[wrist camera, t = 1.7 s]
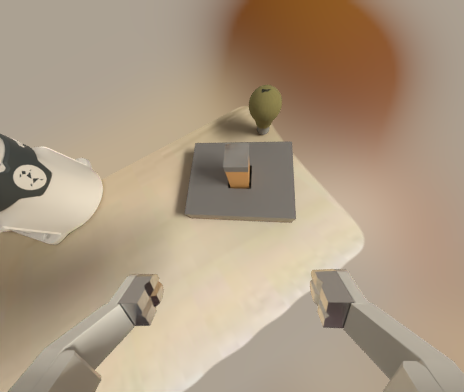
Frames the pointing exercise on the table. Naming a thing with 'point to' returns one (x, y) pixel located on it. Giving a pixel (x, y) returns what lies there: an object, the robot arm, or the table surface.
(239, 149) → the plug
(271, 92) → the light bulb
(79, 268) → the table surface
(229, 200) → the grey block with hole
